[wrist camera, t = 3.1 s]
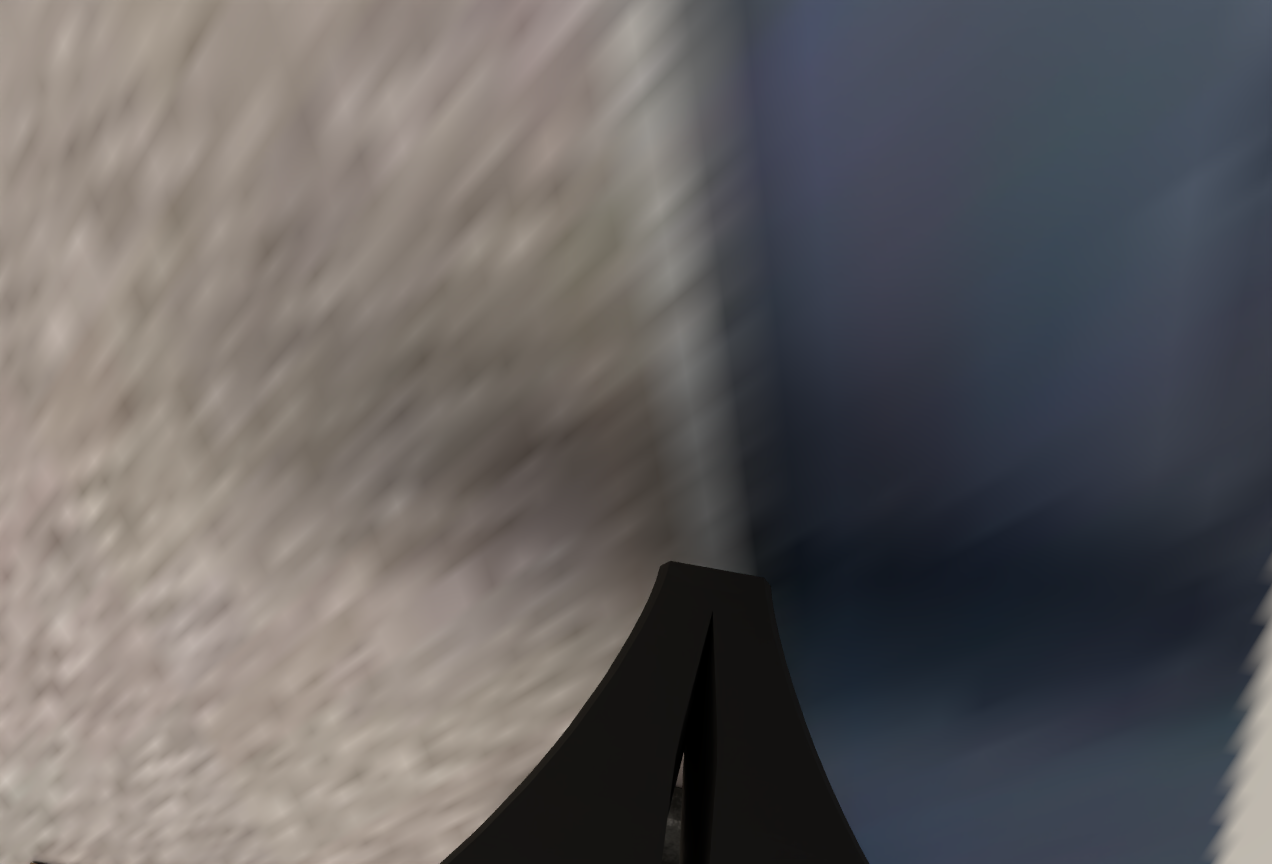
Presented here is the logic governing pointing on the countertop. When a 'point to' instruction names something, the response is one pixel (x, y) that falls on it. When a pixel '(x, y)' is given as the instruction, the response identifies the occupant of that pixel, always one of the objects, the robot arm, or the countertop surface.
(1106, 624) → the countertop surface
